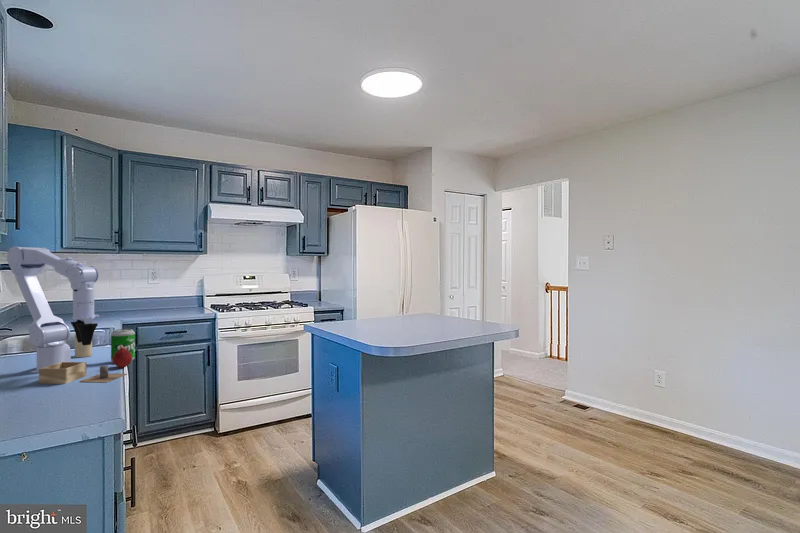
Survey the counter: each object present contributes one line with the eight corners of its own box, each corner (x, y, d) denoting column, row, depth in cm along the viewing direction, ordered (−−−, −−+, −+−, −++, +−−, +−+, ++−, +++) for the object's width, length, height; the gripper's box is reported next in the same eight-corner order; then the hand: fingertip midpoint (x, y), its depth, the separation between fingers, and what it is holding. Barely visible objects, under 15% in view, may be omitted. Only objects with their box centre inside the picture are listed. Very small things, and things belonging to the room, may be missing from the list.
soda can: (108, 365, 157) (109, 332, 157) (113, 360, 164) (113, 329, 164) (133, 363, 160) (133, 331, 160) (136, 359, 167) (136, 328, 167)
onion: (135, 366, 155) (135, 344, 155) (126, 370, 150) (126, 347, 149) (119, 366, 155) (119, 344, 155) (108, 370, 149) (108, 347, 149)
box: (61, 377, 141) (61, 361, 141) (86, 377, 141) (86, 362, 141) (38, 385, 132) (38, 368, 132) (65, 385, 132) (65, 369, 132)
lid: (101, 376, 143) (101, 362, 143) (127, 377, 143) (127, 363, 143) (79, 384, 134) (79, 370, 134) (106, 385, 133) (106, 370, 133)
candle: (91, 356, 170) (92, 331, 170) (74, 358, 167) (74, 332, 167) (92, 354, 175) (92, 329, 175) (75, 355, 172) (75, 330, 172)
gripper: (103, 303, 142) (103, 344, 142) (93, 300, 152) (93, 339, 152) (76, 304, 137) (77, 347, 137) (68, 301, 147) (68, 341, 147)
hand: (84, 343), depth 144 cm, fingers open, 7 cm apart
